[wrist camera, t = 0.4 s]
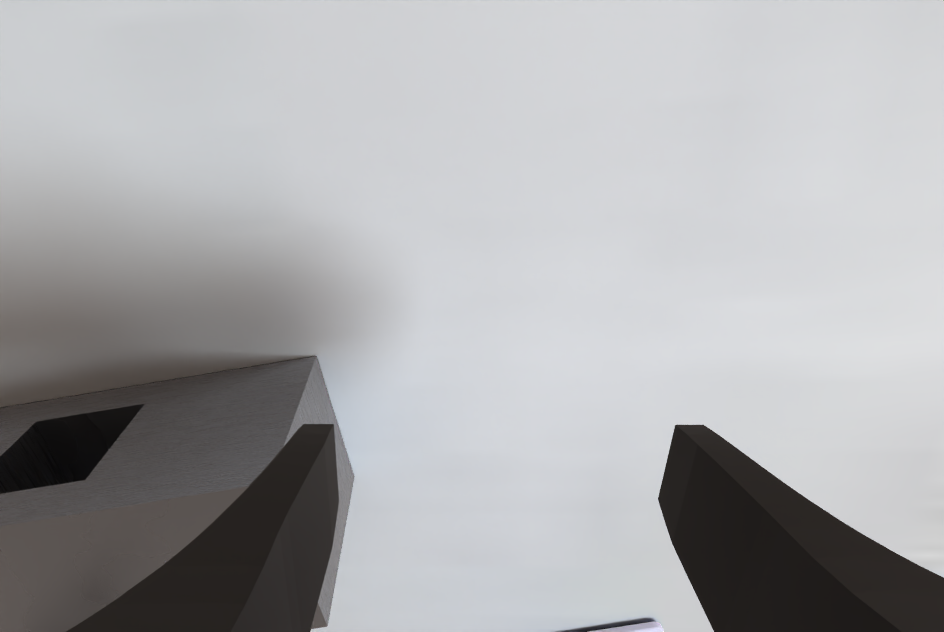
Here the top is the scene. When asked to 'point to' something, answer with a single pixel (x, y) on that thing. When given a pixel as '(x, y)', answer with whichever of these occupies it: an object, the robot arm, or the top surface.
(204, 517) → the block
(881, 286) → the top surface
